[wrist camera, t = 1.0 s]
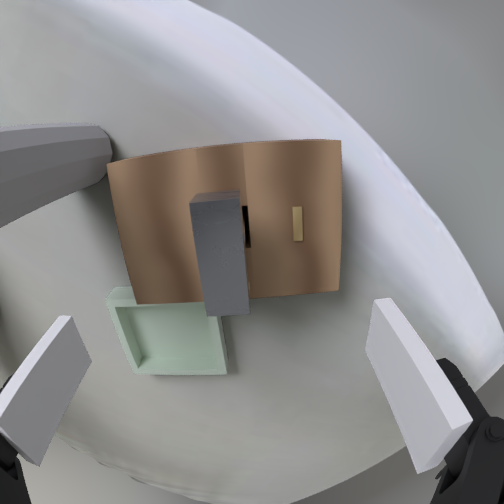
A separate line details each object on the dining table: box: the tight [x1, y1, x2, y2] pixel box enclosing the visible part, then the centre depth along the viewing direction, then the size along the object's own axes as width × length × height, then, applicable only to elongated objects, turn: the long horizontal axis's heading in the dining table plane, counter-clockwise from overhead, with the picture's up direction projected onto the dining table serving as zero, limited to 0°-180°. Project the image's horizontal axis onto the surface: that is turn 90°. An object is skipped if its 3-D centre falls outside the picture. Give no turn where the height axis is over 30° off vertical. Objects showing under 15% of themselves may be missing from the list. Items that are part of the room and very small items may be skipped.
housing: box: [107, 139, 342, 305], centre depth 28 cm, size 20×14×6 cm
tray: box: [105, 286, 228, 375], centre depth 35 cm, size 13×12×3 cm
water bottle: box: [0, 123, 113, 228], centre depth 16 cm, size 9×8×25 cm
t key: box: [189, 189, 250, 317], centre depth 24 cm, size 3×8×12 cm, turn 4°
